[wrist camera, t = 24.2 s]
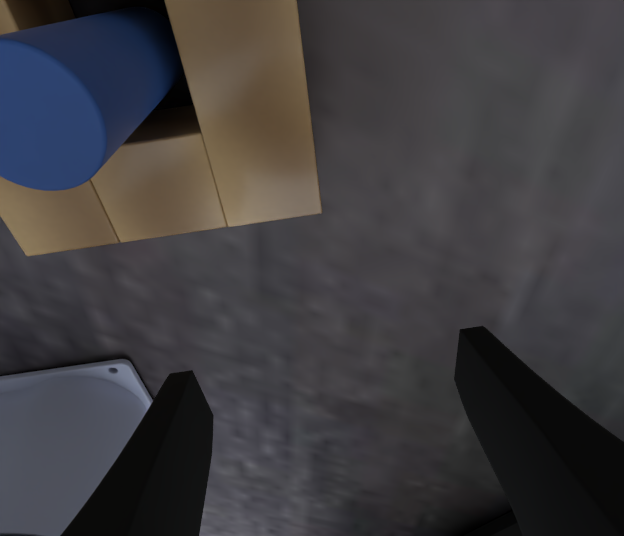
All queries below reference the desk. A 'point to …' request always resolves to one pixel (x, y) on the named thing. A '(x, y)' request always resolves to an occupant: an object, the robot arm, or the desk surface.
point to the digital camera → (499, 527)
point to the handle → (80, 93)
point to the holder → (190, 136)
